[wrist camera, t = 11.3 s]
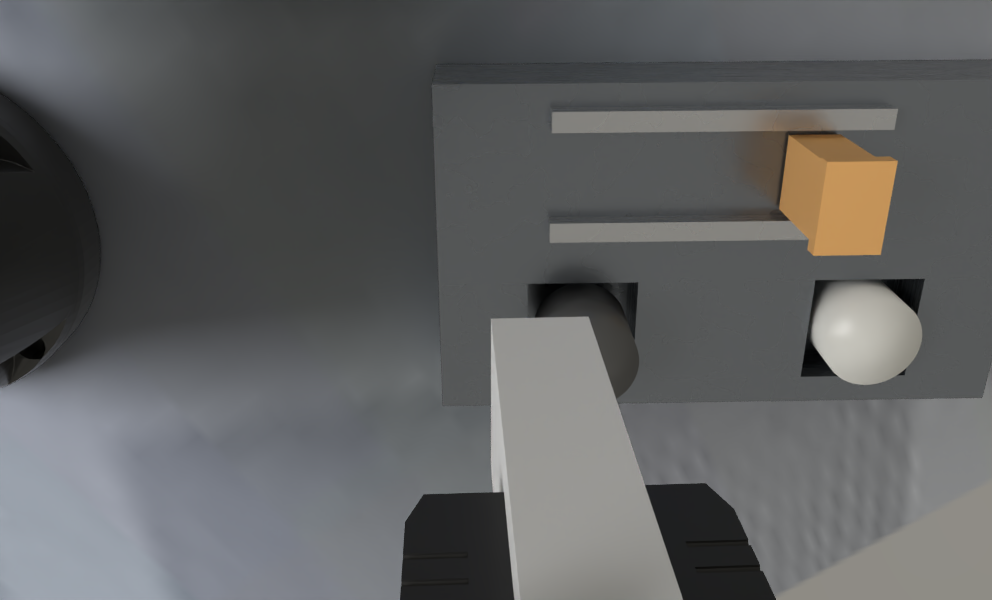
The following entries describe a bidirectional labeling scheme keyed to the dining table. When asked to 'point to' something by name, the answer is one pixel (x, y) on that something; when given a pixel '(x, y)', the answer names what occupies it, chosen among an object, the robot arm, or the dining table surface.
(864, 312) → the white button
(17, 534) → the dining table surface
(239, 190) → the dining table surface
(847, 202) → the toggle knob
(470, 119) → the panel
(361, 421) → the dining table surface
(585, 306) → the black button
